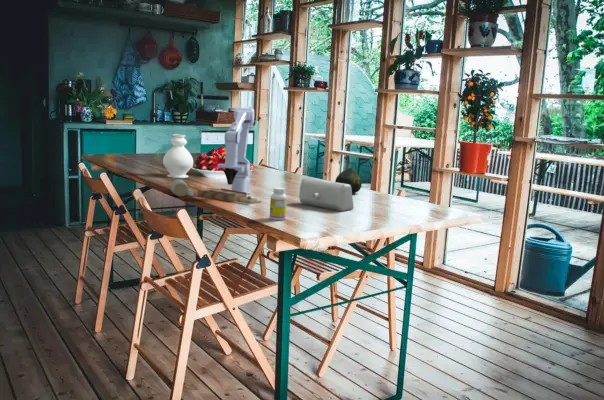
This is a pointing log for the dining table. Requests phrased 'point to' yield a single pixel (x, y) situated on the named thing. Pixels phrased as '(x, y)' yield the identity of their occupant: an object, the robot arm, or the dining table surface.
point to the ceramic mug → (180, 188)
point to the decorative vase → (178, 158)
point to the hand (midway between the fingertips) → (230, 184)
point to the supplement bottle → (278, 204)
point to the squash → (350, 179)
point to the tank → (326, 194)
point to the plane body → (222, 194)
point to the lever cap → (247, 199)
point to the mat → (246, 203)
